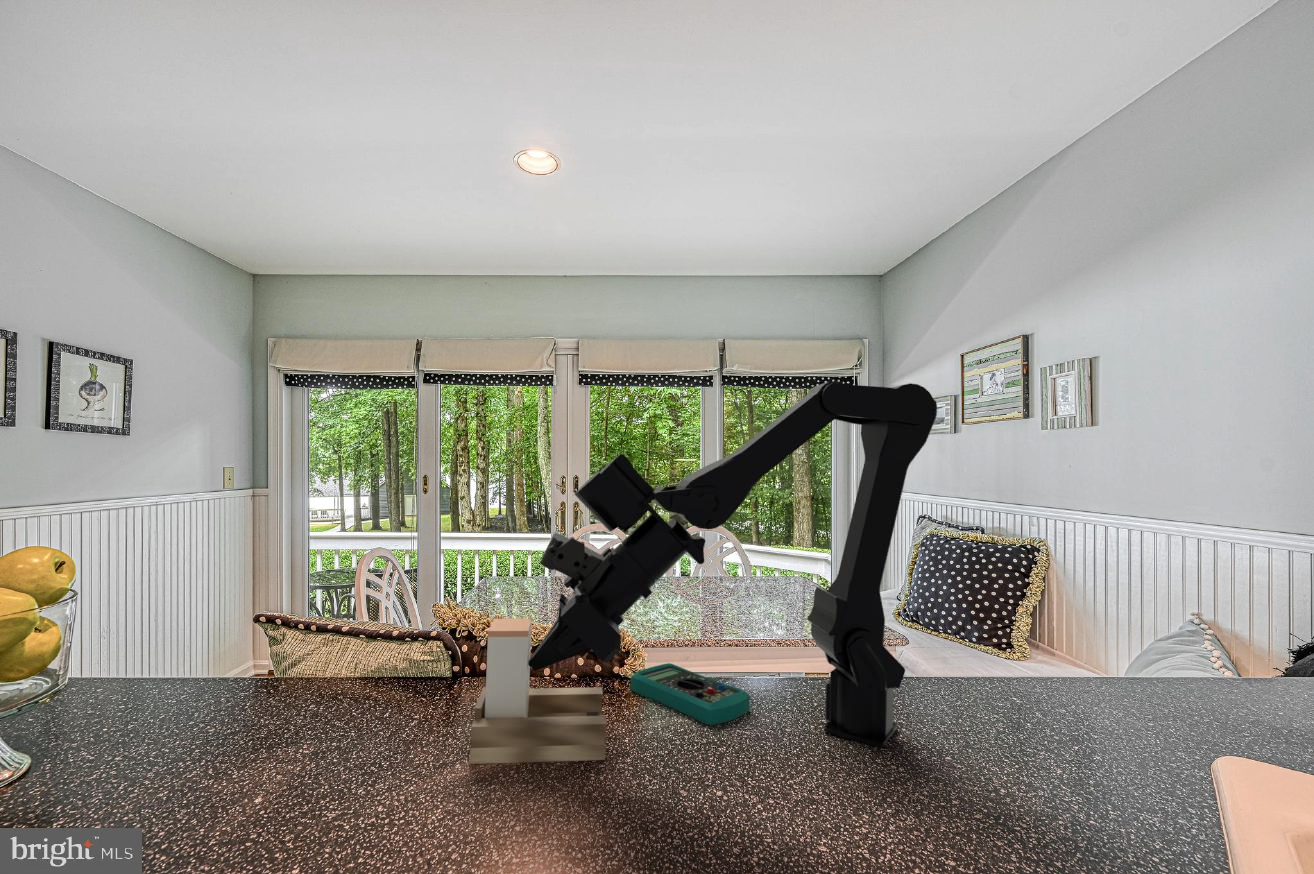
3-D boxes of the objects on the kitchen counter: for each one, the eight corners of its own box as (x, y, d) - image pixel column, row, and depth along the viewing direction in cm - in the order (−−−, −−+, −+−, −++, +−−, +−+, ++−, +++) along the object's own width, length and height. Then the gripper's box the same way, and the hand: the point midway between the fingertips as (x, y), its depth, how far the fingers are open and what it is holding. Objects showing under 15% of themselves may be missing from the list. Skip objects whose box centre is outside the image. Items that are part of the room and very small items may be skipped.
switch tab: (528, 712, 69) (531, 618, 69) (524, 732, 64) (528, 630, 64) (490, 713, 68) (494, 618, 69) (484, 733, 63) (488, 631, 64)
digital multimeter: (713, 732, 71) (714, 705, 71) (627, 693, 81) (628, 670, 82) (754, 715, 76) (755, 691, 76) (668, 681, 86) (669, 659, 87)
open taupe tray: (600, 718, 72) (602, 678, 72) (604, 759, 62) (606, 713, 62) (484, 720, 71) (486, 680, 71) (469, 764, 61) (471, 716, 61)
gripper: (585, 502, 77) (489, 593, 75) (589, 516, 59) (462, 637, 57) (647, 567, 78) (554, 659, 76) (670, 602, 59) (547, 724, 58)
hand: (531, 666), depth 67 cm, fingers closed
